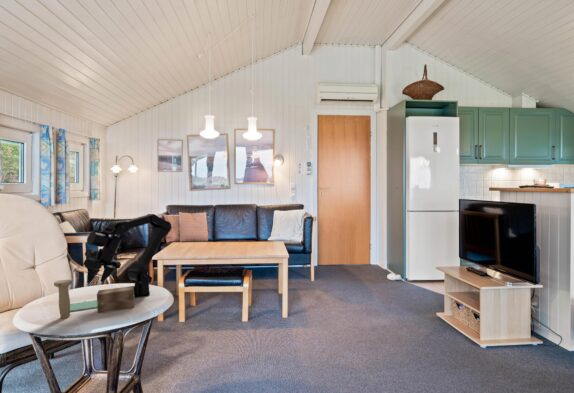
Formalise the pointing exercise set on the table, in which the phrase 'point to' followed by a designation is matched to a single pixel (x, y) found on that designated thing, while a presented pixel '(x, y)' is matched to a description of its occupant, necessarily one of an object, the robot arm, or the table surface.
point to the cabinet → (115, 299)
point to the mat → (83, 306)
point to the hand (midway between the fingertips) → (95, 282)
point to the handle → (64, 297)
